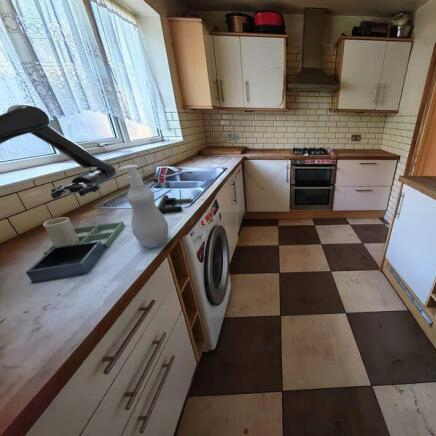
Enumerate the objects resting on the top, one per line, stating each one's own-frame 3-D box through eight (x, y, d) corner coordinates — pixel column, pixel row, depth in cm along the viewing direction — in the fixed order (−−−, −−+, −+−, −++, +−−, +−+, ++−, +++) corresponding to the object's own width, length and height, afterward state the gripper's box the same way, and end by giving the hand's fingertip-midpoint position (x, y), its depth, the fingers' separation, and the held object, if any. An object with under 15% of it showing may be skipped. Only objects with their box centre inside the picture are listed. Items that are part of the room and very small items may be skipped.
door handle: (191, 193, 129) (160, 194, 124) (188, 206, 112) (151, 209, 107) (192, 198, 130) (161, 200, 125) (189, 213, 113) (153, 215, 108)
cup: (53, 254, 80) (38, 226, 75) (64, 244, 86) (50, 218, 81) (75, 250, 82) (62, 224, 77) (84, 241, 88) (72, 216, 83)
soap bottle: (136, 236, 91) (110, 163, 78) (168, 228, 97) (148, 159, 84) (139, 257, 78) (108, 174, 65) (175, 246, 84) (153, 168, 71)
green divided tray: (45, 257, 79) (42, 252, 78) (74, 231, 94) (71, 227, 94) (107, 248, 83) (105, 243, 82) (124, 225, 99) (123, 221, 98)
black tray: (32, 282, 67) (25, 272, 65) (59, 256, 79) (54, 247, 77) (86, 273, 71) (81, 263, 69) (105, 250, 82) (100, 240, 81)
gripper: (64, 175, 96) (38, 187, 83) (103, 172, 100) (85, 183, 86) (71, 192, 100) (48, 206, 86) (109, 188, 103) (93, 201, 90)
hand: (67, 194), depth 86 cm, fingers open, 8 cm apart
